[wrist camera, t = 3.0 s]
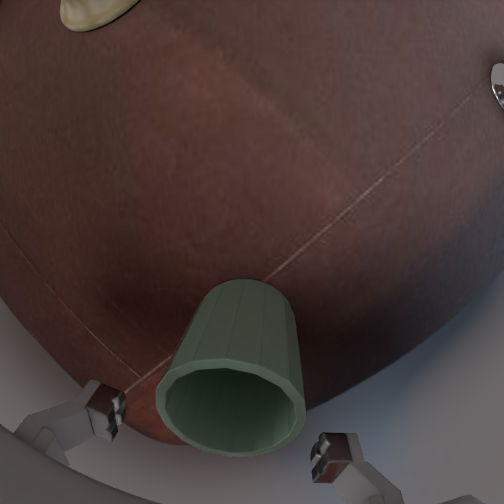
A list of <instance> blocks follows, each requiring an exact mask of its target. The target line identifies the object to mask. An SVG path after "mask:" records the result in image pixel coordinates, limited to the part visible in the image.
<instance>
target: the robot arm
mask: <svg viewBox="0 0 504 504" xmlns="http://www.w3.org/2000/svg"><path fill="white" fill-rule="evenodd" d="M124 399H125V393H124V392H122V391H120V390H117V389H115V388H112V387H110V386H107V385H105V384H103V383H100V382H98V381H95V380H93V379H92V380H90V381H89V382H88V383H87V384H86V386H85V387H84V388H83V390H82V391H81V393H80V394H79V395H78V396H77V398H76V399H75V401H74V402H71V401H70V402H67V403H64V404H61V405H58V406H55V407H52V408H49V409H46V410H43V411H40V412H37V413H34V414H31V415H28V416H27V417H26V418H25V419H24V421H23V422H22V423H21V424H20V426H19V427H18V428H17V430H16V431H15V432H14V433H12V432H11V431H9V430H7V429H6V428H5V427H4V426H2V425H1V424H0V504H160V503H156V502H153V501H150V500H147V499H143V498H141V497H138V496H135V495H132V494H129V493H126V492H124V491H121V490H119V489H116V488H113V487H111V486H109V485H106V484H104V483H101V482H99V481H97V480H94V479H92V478H90V477H88V476H86V475H84V474H82V473H79V472H77V471H75V470H73V469H71V468H69V462H68V460H67V458H66V456H65V454H64V452H66V451H68V450H70V449H72V448H74V447H75V446H77V445H79V444H81V443H83V442H85V441H86V440H88V439H90V438H92V437H94V435H95V436H98V437H100V438H103V439H105V440H108V441H111V442H113V440H114V438H115V436H116V434H117V432H118V429H117V426H118V425H121V424H122V422H123V420H124V418H125V415H126V404H125V403H124V402H123V401H124ZM311 463H312V464H313V465H314V466H315V467H314V468H313V470H312V479H313V483H332V485H333V487H334V488H335V489H336V491H337V492H338V493H339V495H340V496H341V497H342V498H343V500H344V501H345V502H346V503H347V504H404V501H403V498H402V494H401V491H400V490H399V489H398V488H397V487H395V486H394V485H393V484H392V483H391V482H390V481H388V480H387V479H386V478H385V477H384V476H383V475H382V474H381V473H379V472H378V471H377V470H376V469H375V468H374V467H373V466H372V465H371V464H369V463H368V462H364V458H363V454H362V450H361V446H360V443H359V440H358V436H357V434H353V433H324V432H323V433H321V434H320V436H319V441H318V442H317V443H315V444H314V446H313V448H312V451H311ZM440 504H484V503H483V502H481V501H480V500H478V499H477V498H475V497H473V496H471V495H465V496H461V497H458V498H456V499H453V500H450V501H447V502H444V503H440Z"/></svg>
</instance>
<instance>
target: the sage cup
mask: <svg viewBox="0 0 504 504" xmlns="http://www.w3.org/2000/svg"><path fill="white" fill-rule="evenodd" d="M156 409H157V411H158V412H159V414H160V416H161V418H162V420H163V422H164V423H165V425H166V426H167V427H168V428H169V429H170V430H171V431H172V432H173V433H175V434H176V435H177V436H178V437H179V438H181V439H182V440H183V441H185V442H186V443H189V444H191V445H193V446H195V447H197V448H199V449H201V450H204V451H207V452H210V453H214V454H219V455H224V456H229V457H249V456H260V455H263V454H266V453H270V452H273V451H276V450H279V449H281V448H283V447H284V446H285V445H287V444H288V443H290V442H291V441H292V440H294V439H295V438H297V436H298V435H299V433H300V432H301V430H302V428H303V426H304V424H305V422H306V419H307V414H306V404H305V395H304V386H303V377H302V368H301V360H300V351H299V343H298V335H297V328H296V321H295V315H294V312H293V309H292V307H291V305H290V303H289V301H288V300H287V299H286V298H285V296H284V295H283V294H282V293H281V292H279V291H278V290H277V289H275V288H274V287H272V286H270V285H268V284H266V283H264V282H260V281H257V280H251V279H235V280H230V281H227V282H224V283H221V284H219V285H217V286H216V287H214V288H213V289H211V290H210V291H209V292H208V293H207V294H206V295H205V297H204V298H203V299H202V301H201V303H200V305H199V306H198V308H197V309H196V311H195V313H194V315H193V317H192V319H191V321H190V322H189V324H188V326H187V328H186V330H185V332H184V334H183V336H182V338H181V340H180V342H179V344H178V346H177V348H176V350H175V352H174V354H173V356H172V357H171V359H170V361H169V363H168V365H167V367H166V369H165V371H164V373H163V375H162V377H161V379H160V381H159V383H158V385H157V387H156Z"/></svg>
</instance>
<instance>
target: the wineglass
mask: <svg viewBox="0 0 504 504" xmlns="http://www.w3.org/2000/svg"><path fill="white" fill-rule="evenodd" d="M490 77H491V85H492V89H493V92H494V94H495V97H496V99H497V101H498V103H499V104H500V106H501V107H502V109H503V110H504V64H503V63H496V64H495V65H493V67H492V69H491V75H490Z"/></svg>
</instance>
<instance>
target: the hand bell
mask: <svg viewBox="0 0 504 504" xmlns="http://www.w3.org/2000/svg"><path fill="white" fill-rule="evenodd" d="M138 1H139V0H61V6H60V16H61V20H62V22H63V24H64V25H65V26H66V27H67V28H68V29H70V30H72V31H79V32H83V31H88V30H92V29H95V28H98V27H101V26H103V25H105V24H107V23H109V22H111V21H113V20H114V19H116V18H117V17H119V16H120V15H122V14H123V13H125V12H126V11H127V10H129V9H130V8H131V7H132V6H133V5H134V4H135V3H137V2H138Z"/></svg>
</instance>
